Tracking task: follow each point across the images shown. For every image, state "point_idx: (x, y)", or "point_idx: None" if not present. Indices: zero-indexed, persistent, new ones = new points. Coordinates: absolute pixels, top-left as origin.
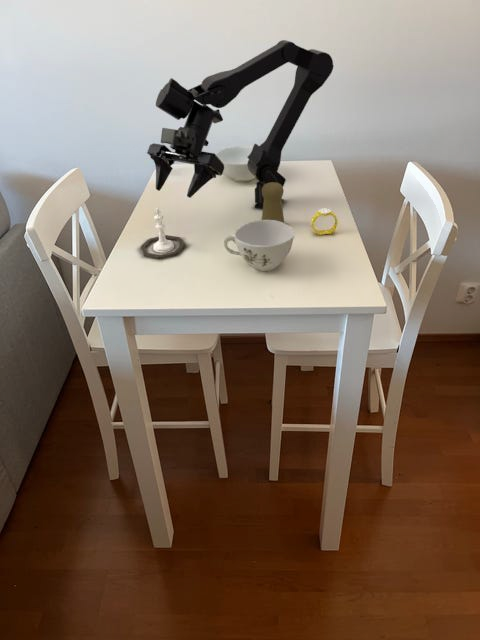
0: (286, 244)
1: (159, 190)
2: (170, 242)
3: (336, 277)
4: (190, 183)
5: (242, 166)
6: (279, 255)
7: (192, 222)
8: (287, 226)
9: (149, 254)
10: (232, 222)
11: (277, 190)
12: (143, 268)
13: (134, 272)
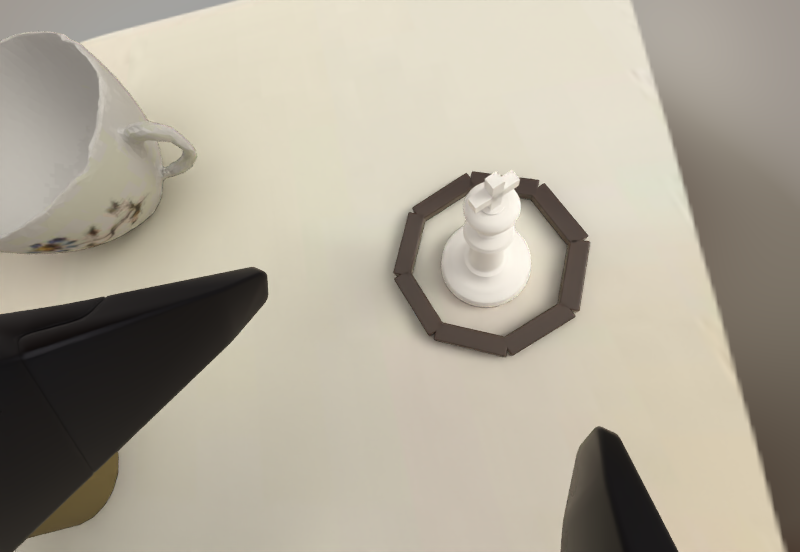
0: None
1: (578, 450)
2: (455, 271)
3: None
4: (165, 309)
5: None
6: (26, 99)
7: (415, 527)
8: None
9: (519, 184)
10: (227, 520)
11: None
12: (512, 112)
13: (535, 85)
